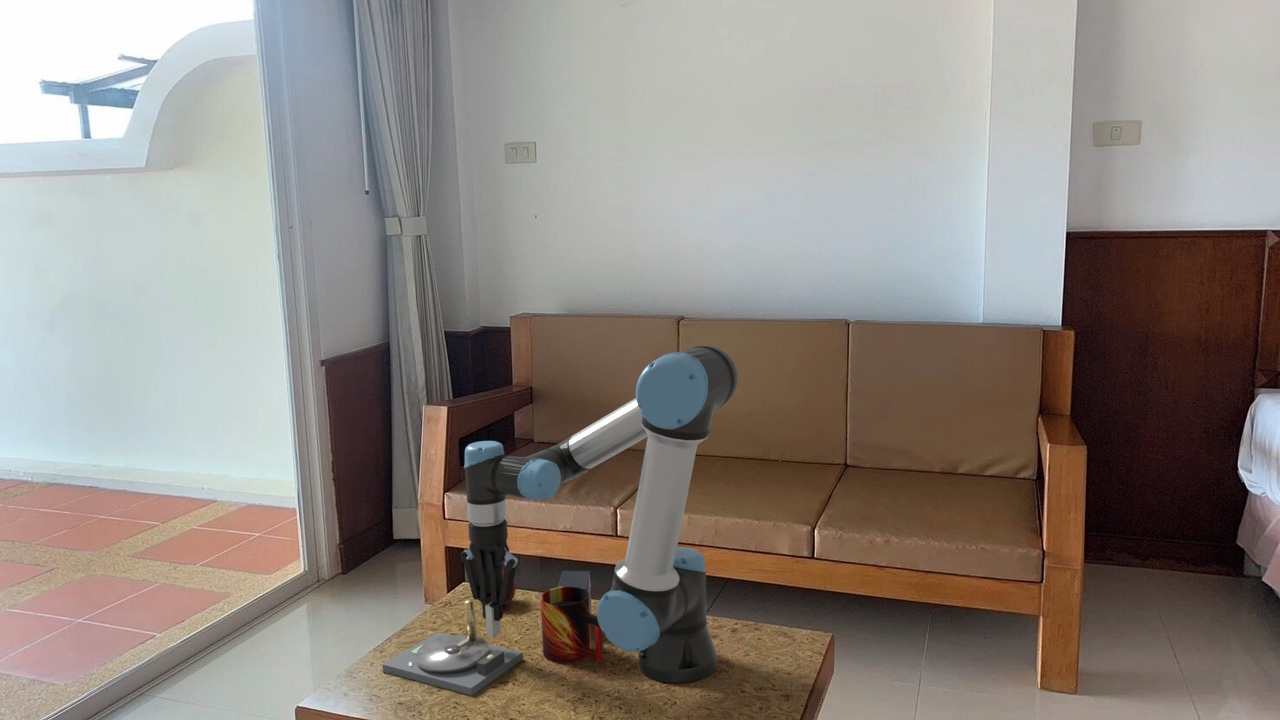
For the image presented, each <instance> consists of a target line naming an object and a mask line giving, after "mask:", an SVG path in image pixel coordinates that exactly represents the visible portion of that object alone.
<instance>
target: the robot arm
mask: <svg viewBox="0 0 1280 720" xmlns="http://www.w3.org/2000/svg"><path fill="white" fill-rule="evenodd" d="M738 384H739V371H738V368H737V365H736V363H735V361H734V360H733V358H732V357H731V356H730V355H729V354H728V353H727V352H726V351H724V350H723V349H721V348H720V347H717V346H713V345H706V344H704V345H703V344H701V345H697V346H693V347H691V348H687V349H685V350H681V351H676V352H675V351H674V352H670V353H666V354H663V355H661V356H660V357H659V358H657V359H655V360H653V361H652V362H650V363H649V364H647V366H646V367H645V368H644V369H643V371H642V372H641V374H640V375H639V377H638V380H637V383H636V387H635V398H633V399H631V400H630V401H628V402H627V403H625V404H623V405H621V406H620V407H618V408H617V409H615V410H614V411H612V412H610V413H608V414H607V415H605V416H603V417H602V418H599V420H596V421H595V422H593V423H591V424H590V425H588V426H586V427H585V428H584V429H581V430H580V431H578V432H576V433H574V434H573V435H572V436H570V437H568V438H566V439H565V440H563V441H562V442H560V443H557V444H555V445H553V446H551V447H549V448H546V449H544V450H543V449H542V450H541V451H538V452H535V453H532V454H530V455H528V456H523V457H522V456H515V455H514V456H512V455H507V454H505V451H504V445H503V444H502V443H501V442H498V441H496V440H482V441H481V440H480V441H475V442H472V443H469V444H468V445H467V446H466V447H465V449H464V466H463V468H464V474H465V476H464V477H465V485H466V486H465V487H466V509H467V510H466V511H467V513H466V514H467V520H468V522H469V523H468V540H469V541H470V542H469V543H470V544H469V548H467V549H465V550H463V551H462V552H460V553H459V558H460V559H461V561H462V563H463V564H464V567H465V571H466V572H465V573H466V575H467V576H466V577H467V579H468V583H469V588H470V591H471V594H472V599H474V601H477V600H478V601H479V602H480V603H481V604H482V605H481V606H482V609H481V610H482V618H483V619H484V620H485V626H486V629H485V630H486V637H488V638H491V639H494V638H495V637H496V636H498V635H499V634H501V633H502V630H501V627H502V626H501V620H502V619H503V616H504V613H503V612H504V610H503V606H504V605H503V604H504V603H506V602H507V601H509V600H510V599H511V594H512V588H513V583H514V582H515V577H516V576H515V575H516V569H517V566H518V565H519V563H520V561H521V558H520V556H518V555H516V556H514V555H513V554H512V553H511V552H510V549H509V548H510V547H509V546H508V544H507V543H508V536H509V535H508V521H507V519H506V518H507V516H508V515H507V501H506V500H507V499H506V496H509V497H510V496H511V497H517V498H522V499H528V500H532V501H537V500H538V501H548V500H550V499H551V500H552V498H553V497H554V496H555V494H556V493H557V492H558V491H559V489H560V485H562V484H563V483H567V482H569V481H571V480H575V479H577V478H579V477H582V476H583V475H584V474H586V473H587V472H588V471H589V470H591V469H593V468H595V467H597V466H598V465H600V464H601V463H604V462H605V461H607V460H608V459H611V458H612V457H614V456H616V455H618V454H619V453H621V452H623V451H625V450H627V449H629V448H630V447H632V446H634V445H635V444H637V443H639V442H641V441H642V440H644V439H646V438H647V440H646V446H645V450H644V455H643V462H642V467H641V473H640V478H639V481H638V482H639V484H638V490H637V493H636V499H635V504H634V510H633V516H632V521H631V526H630V532H629V538H628V543H627V548H626V554H625V557H624V558H623V559H621V560H619V561H618V562H616V565H615V567H614V573H613V577H612V582H611V587H610V591H607V592H606V593H604V594H603V595H602V597H601V599H599V602H598V604H597V607H596V616H597V619H598V623H599V626H600V628H601V630H602V632H603V633H604V636H605V637H606V639H607V640H608V641H609V642H610V643H611V644H613V646H615V647H617V648H618V649H620V650H623V651H626V652H630V653H637V652H638V668H639V669H640V670H639V671H641V673H643V674H644V675H645V676H647V677H648V678H650V679H653V680H655V681H659V682H664V683H674V684H679V683H681V684H682V683H691V682H695V681H700V680H702V679H705V678H707V677H708V676H710V675H711V674H712V673H713V672H714V671H715V670H716V669H717V665H718V664H717V663H718V659H717V656H718V655H717V650H716V648H715V645H714V642H713V639H712V637H711V634H710V632H709V628H708V622H707V616H708V615H707V614H708V612H707V568H706V560H705V559H706V558H705V556H704V555H703V553H701V552H699V550H696V549H692V548H689V547H684V546H683V547H682V546H678V544H679V539H680V533H681V530H682V524H683V519H684V514H685V508H686V503H687V499H688V495H689V488H690V484H691V479H692V473H693V469H694V463H695V458H696V453H697V448H698V445H699V444H700V443H702V442H703V441H706V440H707V439H708V437H709V435H710V430H711V426H712V421H713V415H714V411H717V410H719V409H720V408H723V407H724V406H725V405H727V404H728V403H729V402H730V401H731V400H732V399H733V398H734V395H735V394H736V392H737V389H738ZM503 568H504V569H503ZM502 571H504V573H503V579H502Z"/></svg>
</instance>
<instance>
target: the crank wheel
mask: <svg viewBox="0 0 1280 720" xmlns="http://www.w3.org/2000/svg"><path fill="white" fill-rule="evenodd" d="M463 604H464V606H463V607H464V622H465V624H464V625H465V634H452V635H451V634H449V635H450V636H445V637H440V638H437V639H434V640H432V641H429V642H427V643H426V644H424V645H423V646H421V647H420V648H419V649H418V651H417V653H416V660H417V664H418V666H419V667H421V668H422V669H424V670H427V671H430V672H436V673H450V672H458V671H463V670H466V669H469V668H472V667H475V666H477V662H479V661H480V660H482V659H483V658H485V657H486V656H488V655H489V646H488V644H489V643H488V642H487V641H486V640H485V639H483V638H482V637H479V636H477V627H476V626H477V623H476V609H475V600H474V599H473V598H467V599H464V601H463Z"/></svg>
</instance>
